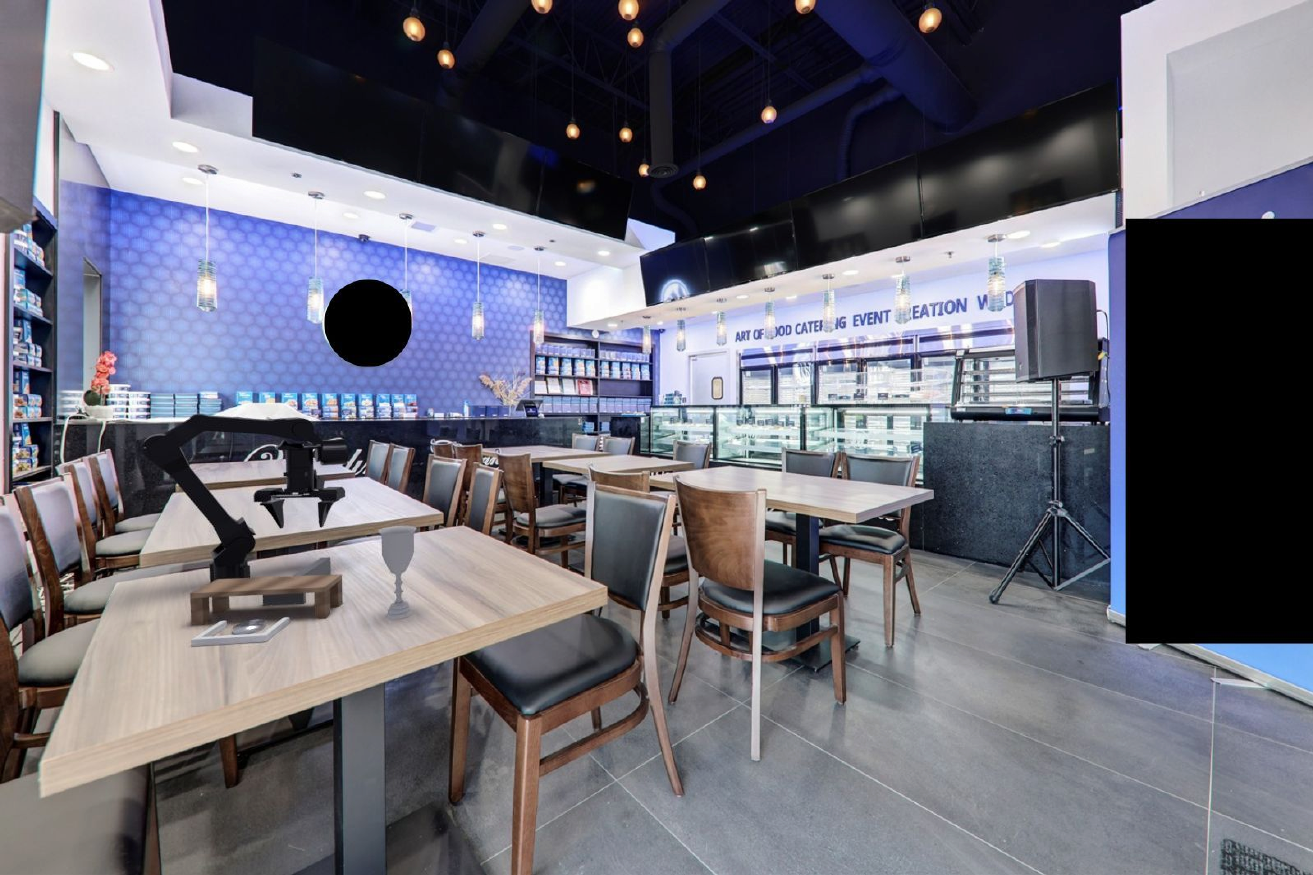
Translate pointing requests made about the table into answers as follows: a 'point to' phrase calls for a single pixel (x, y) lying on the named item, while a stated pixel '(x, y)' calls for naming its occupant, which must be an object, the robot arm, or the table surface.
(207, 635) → the frame
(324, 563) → the grey wedge block
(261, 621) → the disc
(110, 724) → the table surface
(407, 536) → the chalice
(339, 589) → the walnut bench
